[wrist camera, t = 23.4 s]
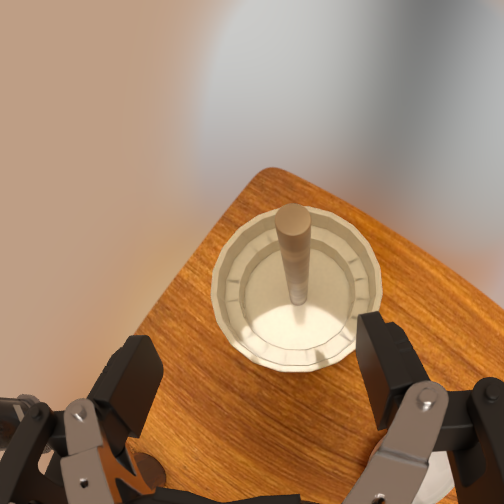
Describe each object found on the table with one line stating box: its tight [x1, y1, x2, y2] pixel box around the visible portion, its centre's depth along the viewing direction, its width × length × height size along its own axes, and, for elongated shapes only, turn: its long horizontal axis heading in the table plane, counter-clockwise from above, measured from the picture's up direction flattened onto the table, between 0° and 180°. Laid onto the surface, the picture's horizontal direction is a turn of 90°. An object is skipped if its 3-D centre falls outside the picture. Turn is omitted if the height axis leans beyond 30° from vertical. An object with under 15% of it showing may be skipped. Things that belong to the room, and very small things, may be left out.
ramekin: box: [368, 435, 455, 504], centre depth 18 cm, size 11×11×5 cm
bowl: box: [211, 206, 383, 372], centre depth 27 cm, size 15×15×6 cm
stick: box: [274, 203, 312, 306], centre depth 21 cm, size 2×2×17 cm
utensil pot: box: [132, 453, 166, 493], centre depth 21 cm, size 6×6×7 cm
